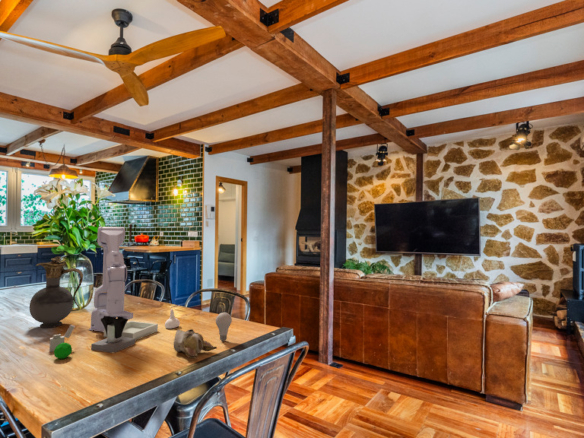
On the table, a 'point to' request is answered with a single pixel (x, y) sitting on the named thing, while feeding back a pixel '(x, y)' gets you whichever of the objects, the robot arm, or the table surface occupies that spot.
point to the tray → (137, 329)
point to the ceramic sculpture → (191, 343)
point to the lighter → (59, 338)
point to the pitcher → (53, 296)
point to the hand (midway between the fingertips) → (114, 337)
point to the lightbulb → (223, 324)
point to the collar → (112, 345)
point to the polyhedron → (62, 350)
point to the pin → (112, 334)
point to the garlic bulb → (172, 321)
